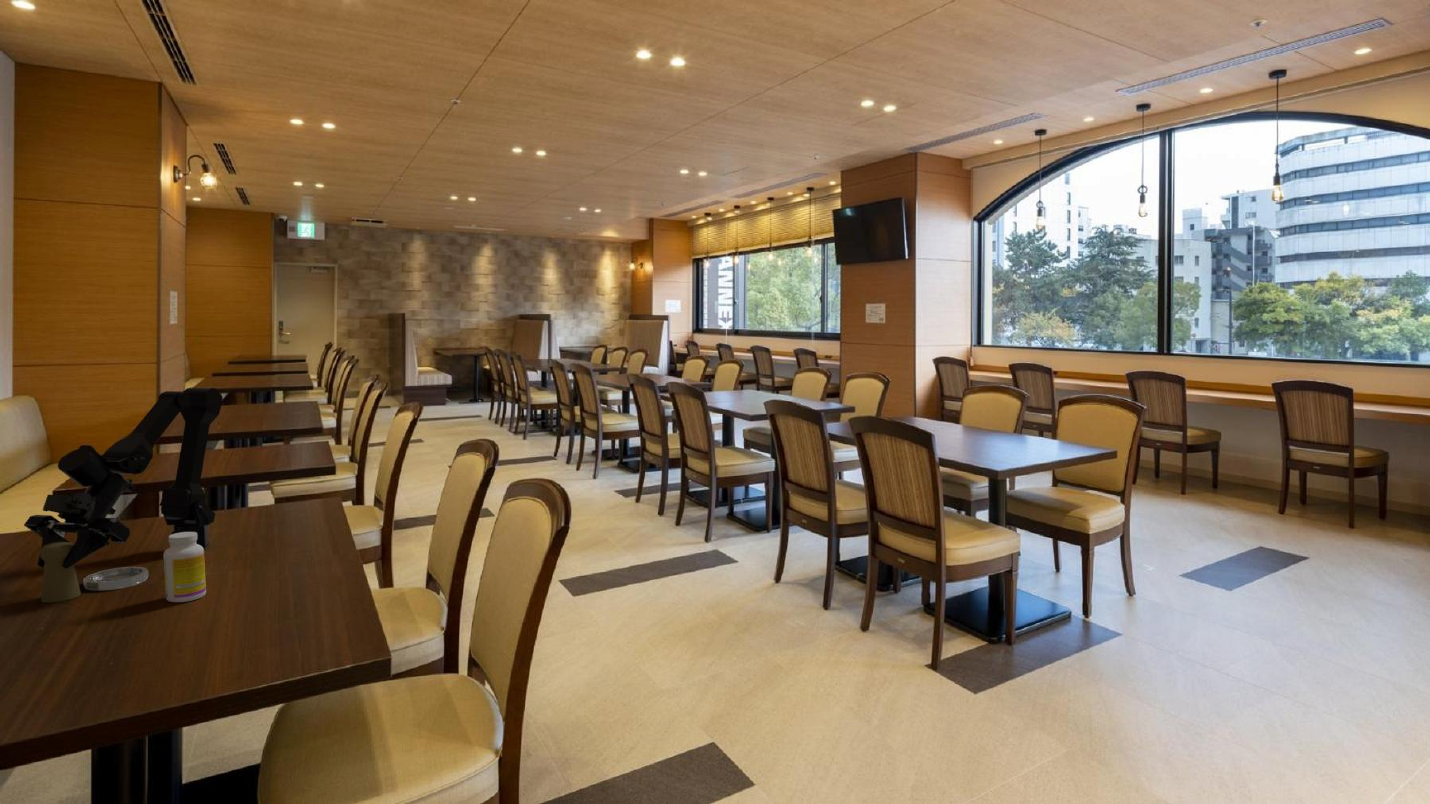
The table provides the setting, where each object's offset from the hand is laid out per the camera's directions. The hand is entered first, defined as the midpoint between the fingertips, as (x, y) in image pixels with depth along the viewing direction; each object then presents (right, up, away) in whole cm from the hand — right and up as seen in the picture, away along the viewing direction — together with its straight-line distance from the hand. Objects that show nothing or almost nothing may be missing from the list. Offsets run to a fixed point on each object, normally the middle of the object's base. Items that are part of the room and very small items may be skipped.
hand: (52, 566), depth 149 cm
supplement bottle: (+24, -7, +3) cm, 26 cm away
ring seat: (+4, -6, +11) cm, 13 cm away
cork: (0, -7, +2) cm, 7 cm away
